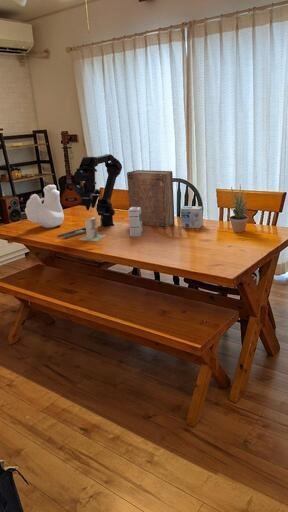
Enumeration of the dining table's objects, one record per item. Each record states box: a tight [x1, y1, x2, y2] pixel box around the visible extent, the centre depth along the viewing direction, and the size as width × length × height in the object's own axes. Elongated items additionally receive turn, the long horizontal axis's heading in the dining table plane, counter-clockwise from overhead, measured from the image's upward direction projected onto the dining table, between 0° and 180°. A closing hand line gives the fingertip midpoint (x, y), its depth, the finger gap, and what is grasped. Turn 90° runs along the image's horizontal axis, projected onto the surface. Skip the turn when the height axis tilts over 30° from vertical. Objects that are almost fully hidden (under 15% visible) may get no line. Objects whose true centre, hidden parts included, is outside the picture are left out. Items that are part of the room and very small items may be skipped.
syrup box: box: [127, 207, 144, 237], centre depth 214 cm, size 6×6×14 cm
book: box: [126, 169, 176, 229], centre depth 232 cm, size 25×9×30 cm, turn 51°
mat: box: [78, 234, 107, 242], centre depth 216 cm, size 11×11×1 cm
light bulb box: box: [180, 205, 204, 229], centre depth 224 cm, size 11×7×11 cm, turn 68°
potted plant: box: [228, 185, 250, 233], centre depth 207 cm, size 10×10×25 cm
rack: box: [57, 227, 86, 240], centre depth 225 cm, size 18×7×2 cm, turn 133°
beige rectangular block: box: [84, 216, 99, 239], centre depth 214 cm, size 7×3×10 cm, turn 158°
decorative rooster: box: [24, 184, 65, 229], centre depth 242 cm, size 25×16×25 cm, turn 129°
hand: (90, 209), depth 225 cm, fingers open, 9 cm apart
